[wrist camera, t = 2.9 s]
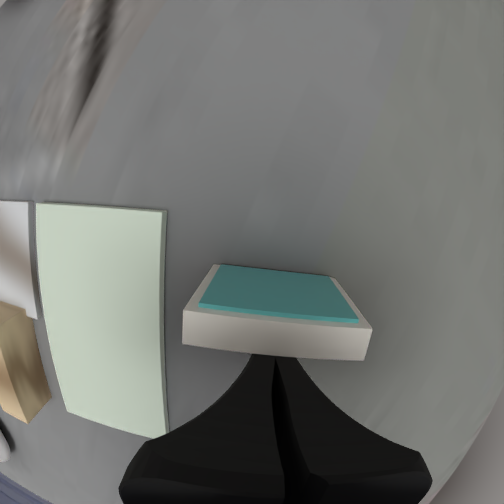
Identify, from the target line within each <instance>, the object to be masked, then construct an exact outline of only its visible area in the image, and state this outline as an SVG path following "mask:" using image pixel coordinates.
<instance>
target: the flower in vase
mask: <svg viewBox="0 0 504 504" xmlns="http://www.w3.org/2000/svg"><path fill="white" fill-rule="evenodd" d="M9 459H10V448H9V445H8V443H7V441H6V439H5V437H4V436H3V434H2V432H1V430H0V462H5V461H7V460H9Z"/></svg>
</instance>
